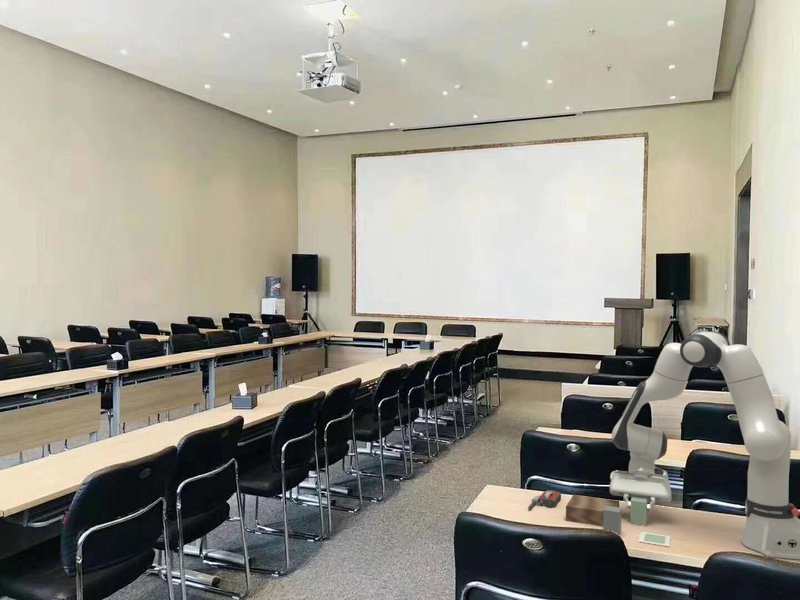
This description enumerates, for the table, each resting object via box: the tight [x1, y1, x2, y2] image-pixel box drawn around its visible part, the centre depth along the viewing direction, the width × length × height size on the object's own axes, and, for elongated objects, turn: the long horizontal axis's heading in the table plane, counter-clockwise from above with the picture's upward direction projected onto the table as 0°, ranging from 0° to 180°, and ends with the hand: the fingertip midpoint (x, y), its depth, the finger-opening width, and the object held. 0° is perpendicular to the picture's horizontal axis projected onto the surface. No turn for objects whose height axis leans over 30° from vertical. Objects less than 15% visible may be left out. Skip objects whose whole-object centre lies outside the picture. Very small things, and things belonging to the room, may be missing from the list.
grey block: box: [602, 506, 622, 536], centre depth 207 cm, size 5×5×8 cm
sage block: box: [629, 496, 648, 527], centre depth 217 cm, size 5×5×8 cm
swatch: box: [638, 531, 672, 548], centre depth 202 cm, size 9×9×1 cm
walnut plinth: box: [565, 494, 620, 527], centre depth 221 cm, size 16×14×5 cm
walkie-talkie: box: [527, 490, 562, 510], centre depth 236 cm, size 9×4×20 cm
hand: (638, 508), depth 216 cm, fingers closed on sage block, 5 cm apart
